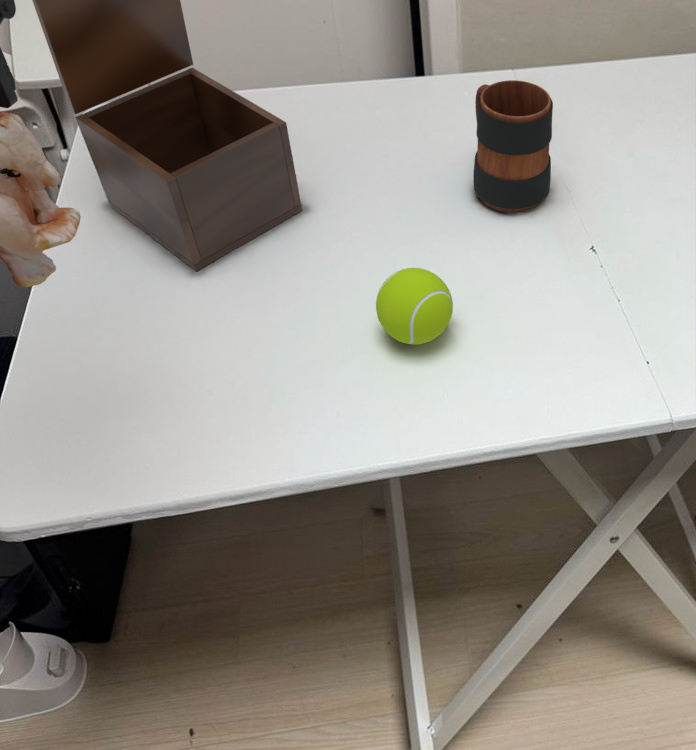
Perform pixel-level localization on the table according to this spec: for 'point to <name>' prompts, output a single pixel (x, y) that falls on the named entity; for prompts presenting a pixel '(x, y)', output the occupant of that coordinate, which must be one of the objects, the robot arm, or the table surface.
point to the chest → (193, 165)
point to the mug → (513, 145)
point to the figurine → (29, 205)
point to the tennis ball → (414, 306)
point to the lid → (112, 45)
